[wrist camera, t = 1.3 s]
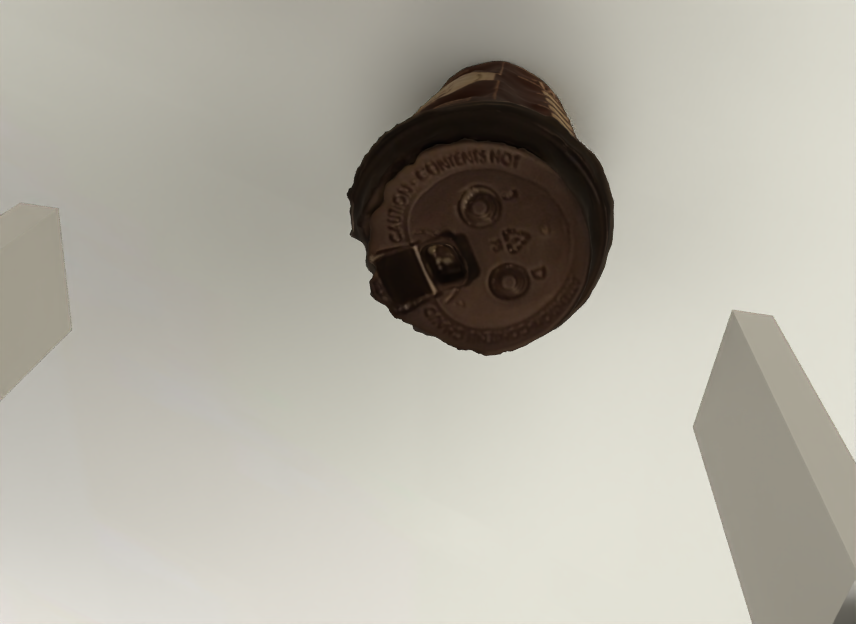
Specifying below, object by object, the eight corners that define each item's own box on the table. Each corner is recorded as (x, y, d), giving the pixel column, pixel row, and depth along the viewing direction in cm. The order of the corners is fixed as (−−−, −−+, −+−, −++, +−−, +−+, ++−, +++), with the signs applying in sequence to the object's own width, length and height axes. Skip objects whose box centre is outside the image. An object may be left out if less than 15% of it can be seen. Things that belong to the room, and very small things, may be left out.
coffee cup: (374, 188, 38) (307, 322, 26) (424, 7, 34) (371, 74, 22) (551, 245, 38) (561, 402, 27) (621, 73, 34) (668, 171, 23)
